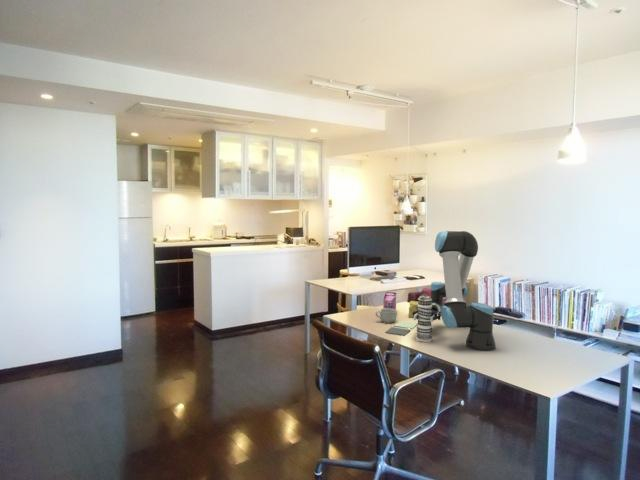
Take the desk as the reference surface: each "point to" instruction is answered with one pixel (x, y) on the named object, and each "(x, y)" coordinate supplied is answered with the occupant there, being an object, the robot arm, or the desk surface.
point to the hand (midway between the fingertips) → (422, 318)
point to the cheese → (412, 308)
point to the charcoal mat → (397, 331)
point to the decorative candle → (424, 319)
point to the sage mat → (405, 324)
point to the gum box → (389, 300)
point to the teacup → (387, 315)
